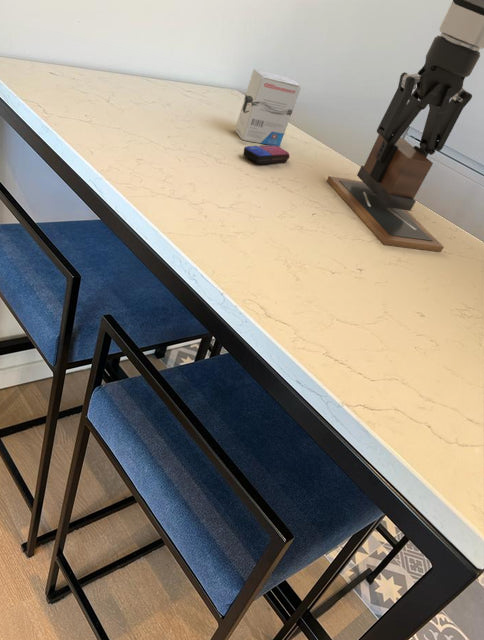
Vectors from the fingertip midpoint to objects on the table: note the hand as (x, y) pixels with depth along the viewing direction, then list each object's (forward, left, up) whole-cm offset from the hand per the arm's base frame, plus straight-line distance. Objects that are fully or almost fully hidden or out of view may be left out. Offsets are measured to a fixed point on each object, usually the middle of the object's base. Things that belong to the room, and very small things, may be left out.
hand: (388, 181), depth 102 cm
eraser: (+11, +19, -5) cm, 23 cm away
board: (-5, +2, -4) cm, 7 cm away
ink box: (+21, +17, -5) cm, 28 cm away
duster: (0, 0, -2) cm, 2 cm away
